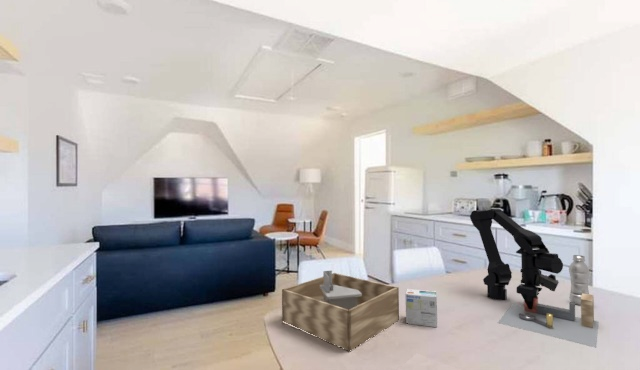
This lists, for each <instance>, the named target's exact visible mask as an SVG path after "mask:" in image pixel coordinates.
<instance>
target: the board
mask: <svg viewBox="0 0 640 370" xmlns="http://www.w3.org/2000/svg"><path fill="white" fill-rule="evenodd" d="M520 313H528V314H533V315H534V316H535V317H536V319H538V320H540V321H543V322H546V315H544V314H539V313H534V312H529V311H525V310H524V305H521V304H516V303H512V304H511V306H510V307H509V308H508V309H507V311H506V312H505V313H504V314H503V316H502V317H501V318H499V321H498V322H497V324H502V325H505V326H509V327H512V328H516V329H521V330H523V331H528V332H533V333H537V334H540V335H543V336H544V335H545V336H548V337H553V338H556V339H559V340H560V339H561V340H562V341H563V340H565V341H568V342H572V343H575V344H579V345H584V346H588V347H591V348H592V347H593V348H595V349H596V348H597V344H598V343H597V342H598V333H599V332H598V329H599V321H597V320H594V322H593V328H590V327H585V326H581V317H578V316H575V321H572V320H567V319H563V318H558V317H553V328H548V327H545V326H543V325H540V324H538V323H535V322H533V321H525V320H522V319H520V318H519V314H520Z"/></svg>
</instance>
